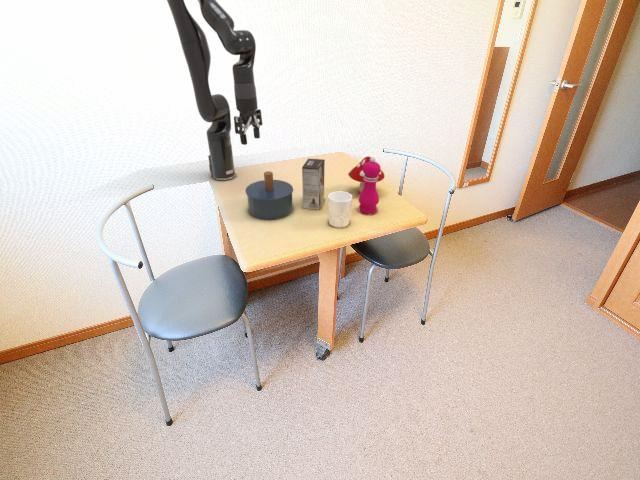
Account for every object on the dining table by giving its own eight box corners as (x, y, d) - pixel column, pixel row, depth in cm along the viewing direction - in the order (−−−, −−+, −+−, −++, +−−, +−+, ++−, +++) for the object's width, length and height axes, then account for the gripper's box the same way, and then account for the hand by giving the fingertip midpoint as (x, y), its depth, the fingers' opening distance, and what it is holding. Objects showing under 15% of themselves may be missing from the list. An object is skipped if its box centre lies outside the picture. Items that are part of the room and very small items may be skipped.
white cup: (343, 231, 117) (345, 203, 111) (323, 224, 120) (323, 197, 115) (354, 221, 122) (356, 194, 117) (334, 215, 126) (335, 189, 120)
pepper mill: (356, 206, 132) (360, 154, 121) (375, 205, 132) (381, 153, 122) (359, 215, 126) (364, 161, 115) (379, 214, 126) (386, 161, 116)
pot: (254, 223, 120) (252, 203, 116) (245, 203, 133) (242, 185, 128) (298, 215, 125) (297, 196, 121) (284, 197, 138) (284, 179, 133)
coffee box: (308, 197, 137) (307, 157, 129) (324, 199, 136) (325, 159, 128) (302, 208, 130) (301, 166, 121) (319, 210, 129) (320, 168, 120)
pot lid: (251, 206, 116) (249, 185, 112) (241, 186, 129) (239, 167, 125) (299, 198, 121) (299, 178, 117) (285, 180, 134) (284, 161, 130)
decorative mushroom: (341, 195, 139) (343, 159, 131) (354, 183, 150) (356, 148, 142) (376, 203, 134) (380, 165, 126) (386, 189, 145) (390, 153, 137)
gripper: (248, 91, 132) (253, 135, 141) (224, 98, 121) (231, 145, 130) (265, 93, 129) (269, 137, 138) (242, 100, 119) (248, 147, 127)
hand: (250, 141), depth 134 cm, fingers open, 8 cm apart
